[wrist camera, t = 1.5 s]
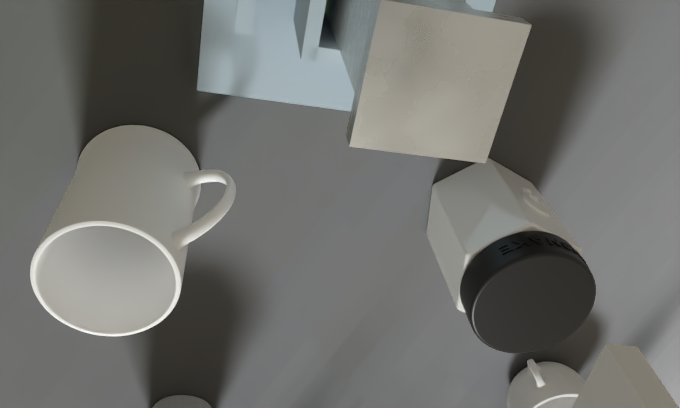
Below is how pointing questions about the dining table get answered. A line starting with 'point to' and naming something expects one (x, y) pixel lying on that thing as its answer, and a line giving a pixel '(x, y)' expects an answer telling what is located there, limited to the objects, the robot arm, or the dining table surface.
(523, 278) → the jar
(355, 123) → the column
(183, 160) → the mug
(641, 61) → the dining table surface
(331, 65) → the stand base
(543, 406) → the teacup
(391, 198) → the dining table surface
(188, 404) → the coffee cup
